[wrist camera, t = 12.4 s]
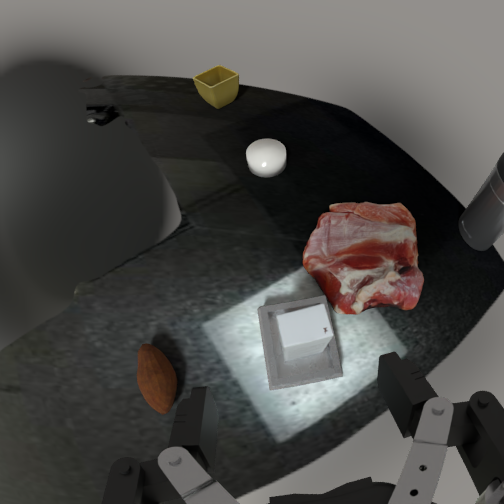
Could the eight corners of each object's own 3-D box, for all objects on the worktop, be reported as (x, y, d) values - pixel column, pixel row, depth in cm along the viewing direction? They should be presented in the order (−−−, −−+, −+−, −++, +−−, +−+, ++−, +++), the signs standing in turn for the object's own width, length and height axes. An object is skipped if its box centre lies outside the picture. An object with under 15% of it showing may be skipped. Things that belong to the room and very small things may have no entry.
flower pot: (244, 101, 74) (239, 73, 66) (217, 115, 72) (210, 87, 64) (224, 90, 78) (219, 64, 70) (198, 104, 76) (191, 77, 68)
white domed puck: (282, 148, 65) (281, 136, 61) (290, 174, 61) (289, 162, 58) (246, 154, 65) (243, 142, 62) (251, 180, 61) (249, 168, 58)
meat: (313, 335, 46) (320, 318, 37) (292, 220, 56) (292, 185, 47) (430, 311, 45) (457, 290, 36) (396, 207, 55) (411, 174, 46)
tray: (325, 297, 48) (327, 291, 46) (342, 376, 42) (345, 374, 40) (257, 309, 49) (256, 304, 46) (270, 390, 42) (269, 389, 40)
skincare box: (316, 325, 46) (325, 301, 35) (323, 352, 44) (335, 336, 33) (277, 335, 46) (275, 314, 35) (283, 361, 44) (283, 349, 33)
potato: (170, 341, 47) (154, 332, 42) (191, 407, 42) (178, 408, 36) (138, 352, 47) (120, 344, 41) (157, 417, 42) (140, 418, 36)
